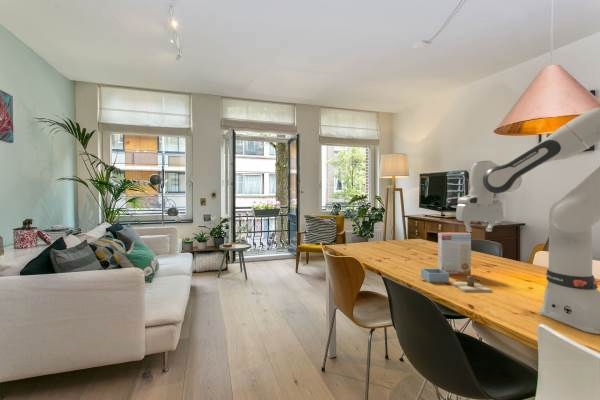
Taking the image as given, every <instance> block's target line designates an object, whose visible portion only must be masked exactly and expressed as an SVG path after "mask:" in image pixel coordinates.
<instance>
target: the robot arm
mask: <svg viewBox="0 0 600 400" xmlns="http://www.w3.org/2000/svg"><path fill="white" fill-rule="evenodd" d="M597 143H600V107H595V108H592V109H590V110H588V111H585V112H584V113H582V114H579V115H578V116H577V117H575V118H573V119H571V120H569V121H568V122H566V123H565V124H563V125H562V126H560V127H559V128H557V129H556V130H555V131H553V132H552V133H551V134H549V135H548V136H547V137H545V139H543V140H542V141H540V142H539V143H538V144H537V145H535V146H534V147H532V148H531V149H529V150H527V151H526V152H524V153H523V154H521V155H519V156H518V157H516V158H514V159H512V160H511V161H509V162H508V163H506V164H503V165H499V164H497V163H495V162H493V161H492V160H482V161H481V160H480V161H478V162H475V163H474V164H472V165H471V168H470V171H469V172H470V173H469V185H470V186H469V187H470V188H469V190H468V194H467V195H464V196H460V197H458V199H457V203H458V204H457V205H456V211H455V218H456V220H457V221H459V222H463V223H464V224H463V225H464V227H465V231H466V233H468V232H469V233H471V232H473V227H471V225H470V224H471V222H488V225H487V226H486V227H485V232H490V233H492V231H493V227H494V226H495V224H496V223H495V222H502V221H503V219H504V209H503V202H502V201H501V200H499V199H494V194H502V193H511V192H513V191H515V190H517V189H518V188H520V187H521V185H522V181H523V180H522V176H523V175H525V174H527V173H528V172H530V171H532V170H534V169H536V168H537V167H538V166H539V167H540V166H541V165H543V164H547V163H548V162H551V161H552V162H553V161H557V160H565V159H568V158H572V157H574V156H576V155H578V154H581V153H582V152H584V151H586V150H587V149H589V148H591V147H593V146H595V145H596V144H597ZM548 214H549V216H548V217H549V218H548V219H549V220H548V222H549V223H548V267H547V269H546V273H545V276H546V277H545V278H546V279H545V280H546V281H547V283H546V284H547V285H546V286H545V287H546V288H545V289H544V294H543V300H542V305H541V309H540V310H539V314H540V315H542V316H545V317H548V318H549V319H552V320H555V321H557V322H560V323H563V324H565V325H567V326H570V327H573V328H574V329H578V330H579V331H583V332H585V333H589V334H593V335H594V334H596V335H600V290H599V289H598V287H599V286H598V285H600V280H596V278H595V276H594V275H593V257H594V256H593V251H594V250H593V237H592V236H593V235H592V231H593V230H592V227H593V226H595V225H596V224H597V223H598V222H599V221H600V166H598V167H596V169H595V170H594V171H593V172H591V173H590V174H589V175H588V176H586V177H585V178H584V179H583V180H581V182H579V183H578V184H577V185H576V186H575V187H574V188H573V189H572V190H570V191H569V192H568V193H567V194H566V195H564V197H562V198H561V199H560V200H558V201H556V202H554V203H553V204H552V206H551V207H550V209H549V213H548Z"/></svg>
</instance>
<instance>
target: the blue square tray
mask: <svg viewBox="0 0 600 400" xmlns="http://www.w3.org/2000/svg"><path fill="white" fill-rule="evenodd" d="M420 278H421V279H423V280H424V281H426V282H427V283H430V284H439V283H441V284H446V283H447V284H448V283H449V284H450V275H449V273H447V272H445V271H443V270H441V269H438V268H420Z"/></svg>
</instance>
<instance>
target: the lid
mask: <svg viewBox="0 0 600 400" xmlns="http://www.w3.org/2000/svg"><path fill="white" fill-rule="evenodd" d="M466 276H467V277H466V281H451V283H450V285H451V284H452V285H451V286H453V285H454V286H456V287H457V288H456V287H455V288H456V289H458V288H459V289H461V290H463V291H464V292H463V291H462V292H463V293H465V292H467V293H493V290H492V289H491V288H489V287H487V286H484V285H482V284H481V283H478V282H476V281H475V276H473V275H466ZM454 286H453V287H454ZM459 289H458V290H459ZM461 290H460V291H461Z"/></svg>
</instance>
